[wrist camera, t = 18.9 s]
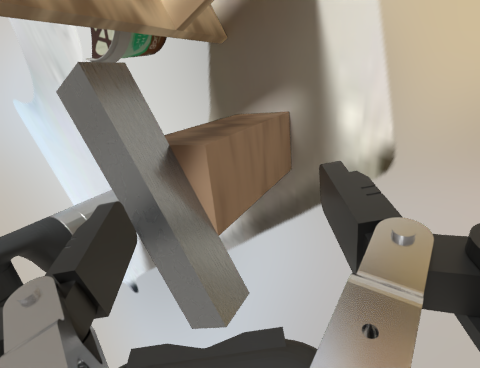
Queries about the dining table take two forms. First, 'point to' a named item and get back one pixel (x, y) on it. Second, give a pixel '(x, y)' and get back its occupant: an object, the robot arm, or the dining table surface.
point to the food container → (122, 45)
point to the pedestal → (233, 161)
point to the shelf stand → (126, 16)
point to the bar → (153, 191)
